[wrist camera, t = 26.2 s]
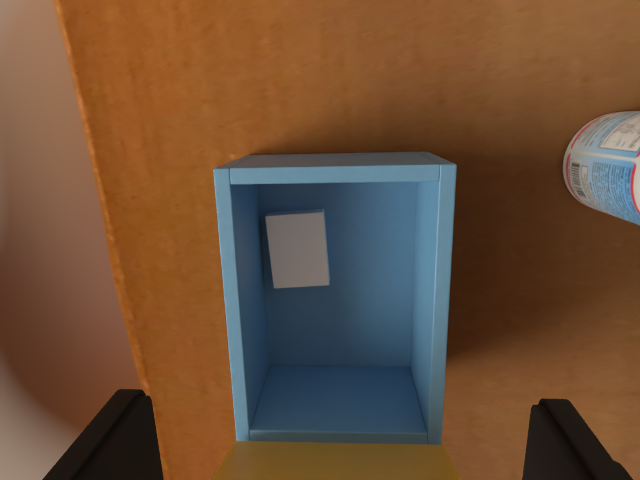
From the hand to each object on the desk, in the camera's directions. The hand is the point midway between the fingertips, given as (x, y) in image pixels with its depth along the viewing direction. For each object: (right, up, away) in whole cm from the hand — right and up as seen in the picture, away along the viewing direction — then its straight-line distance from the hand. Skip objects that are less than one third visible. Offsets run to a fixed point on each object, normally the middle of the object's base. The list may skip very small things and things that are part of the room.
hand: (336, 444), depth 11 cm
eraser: (0, +5, +18) cm, 19 cm away
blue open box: (+1, +3, +20) cm, 20 cm away
